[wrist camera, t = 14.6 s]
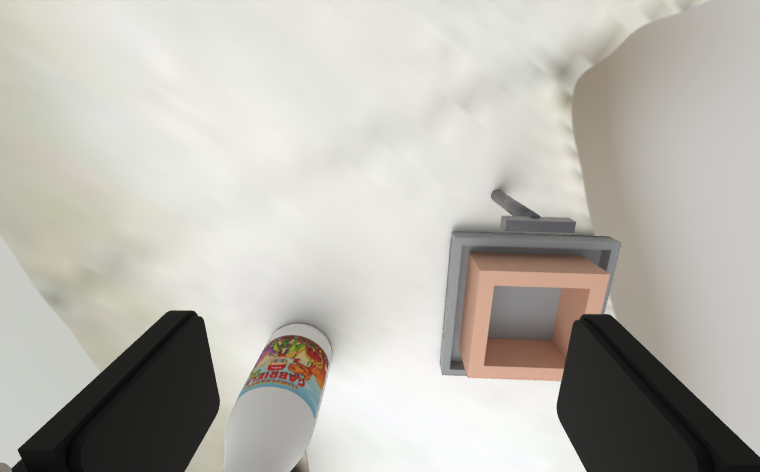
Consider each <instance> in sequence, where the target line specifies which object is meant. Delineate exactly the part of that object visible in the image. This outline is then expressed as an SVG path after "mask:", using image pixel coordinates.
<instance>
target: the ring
mask: <svg viewBox="0 0 760 472" xmlns="http://www.w3.org/2000/svg"><path fill="white" fill-rule="evenodd" d="M609 277H610V274H609V273H607V272H606V271H604V270H603V269H601V268H600V267H599V266H597V265H596V264H594V263H593V262H592V261H590V260H589V259H587V258H586V257H584V256H583V255H556V254H523V253H489V252H469V255H468V264H467V274H466V284H465V293H464V303H463V312H462V322H461V332H460V341H459V351H460V354H461V358H462V361H463V364H464V368H465V371H466V374H467V378H490V379H518V380H547V381H562V376H563V371H564V366H565V361H566V356H567V350H568V345H569V340H570V335H571V330H572V325H573V323H574V321H575V320H579V319H580V317H581V316H582V315H583V314H601V311H602V306H603V302H604V298H605V294H606V289H607V285H608V281H609ZM494 286H520V287H552V288H562V290H561V295H560V301H559V306H558V311H557V316H556V321H555V326H554V331H553V337H552V341H551V340H521V339H491V338H487V337H488V329H489V322H490V314H491V306H492V299H493V291H494Z"/></svg>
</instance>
